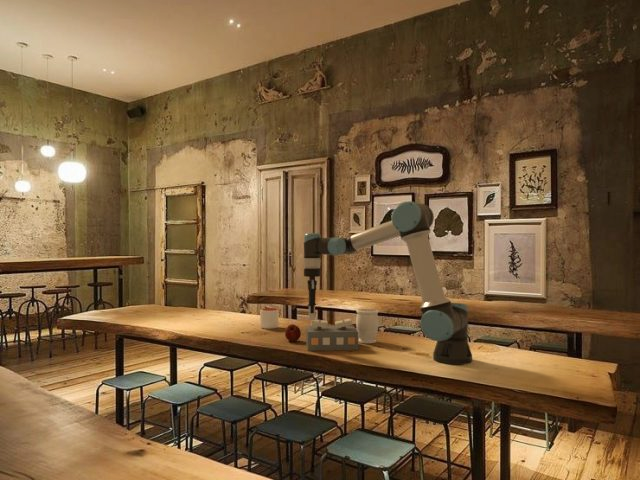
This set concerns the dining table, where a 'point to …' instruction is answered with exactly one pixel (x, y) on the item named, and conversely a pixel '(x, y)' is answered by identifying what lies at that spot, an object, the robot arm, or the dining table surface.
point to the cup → (269, 318)
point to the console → (331, 338)
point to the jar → (367, 325)
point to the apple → (292, 333)
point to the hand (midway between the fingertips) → (311, 320)
